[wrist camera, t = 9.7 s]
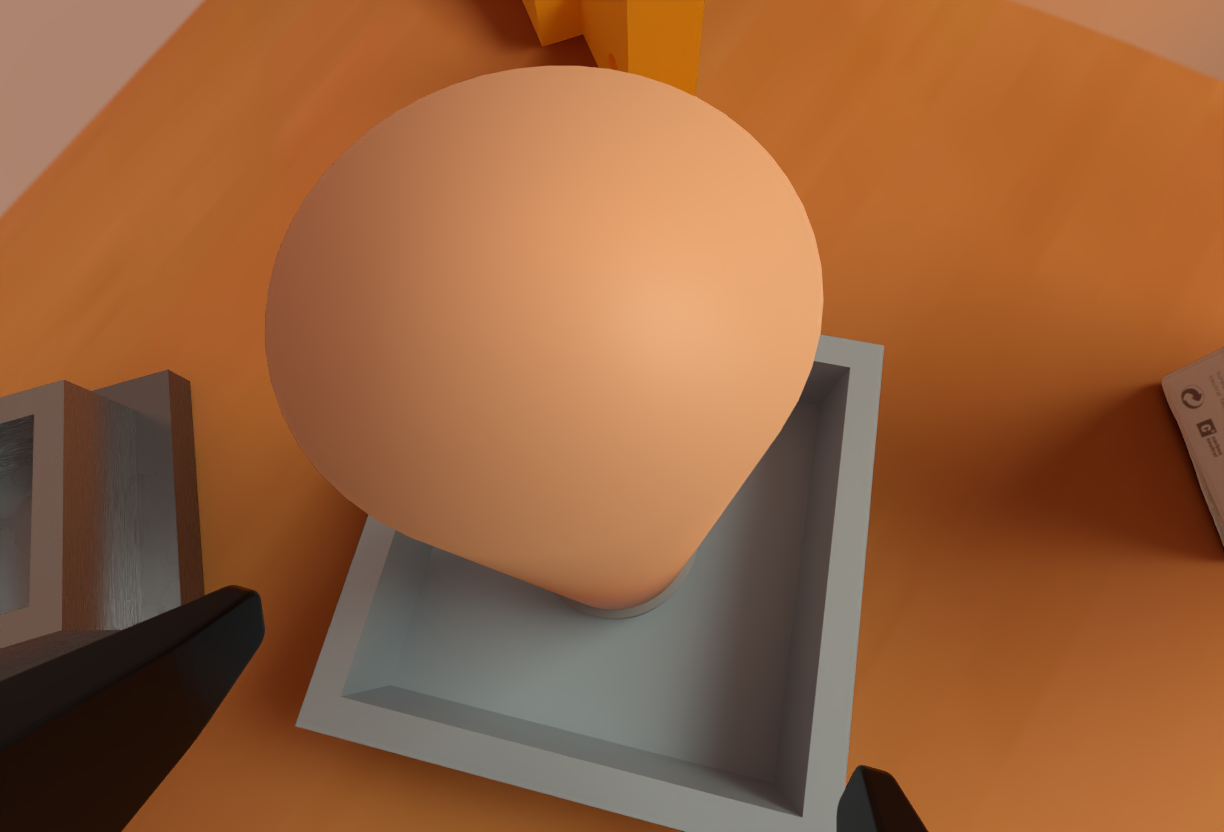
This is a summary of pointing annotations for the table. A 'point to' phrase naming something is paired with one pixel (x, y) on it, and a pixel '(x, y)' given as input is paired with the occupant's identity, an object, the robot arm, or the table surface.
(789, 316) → the tan rounded tapered piece
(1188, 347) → the table surface
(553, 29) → the pipe clamp
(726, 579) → the bin
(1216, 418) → the skincare box
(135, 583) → the stud base
